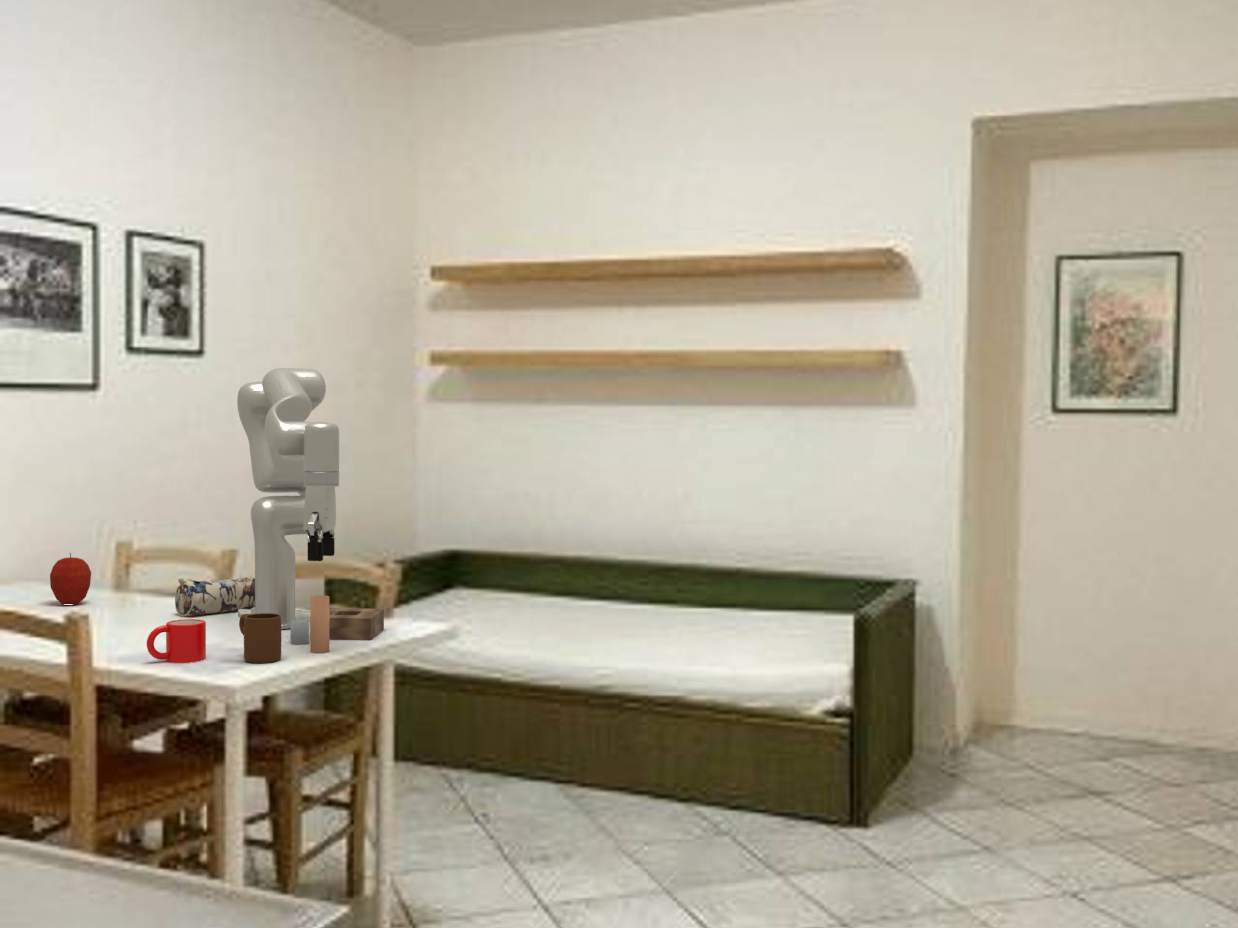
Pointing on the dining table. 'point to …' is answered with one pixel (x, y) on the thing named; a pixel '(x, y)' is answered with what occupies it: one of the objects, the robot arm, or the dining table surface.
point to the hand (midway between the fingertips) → (321, 558)
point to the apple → (70, 580)
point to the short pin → (299, 632)
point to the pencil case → (214, 596)
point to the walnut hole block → (354, 623)
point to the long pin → (319, 624)
